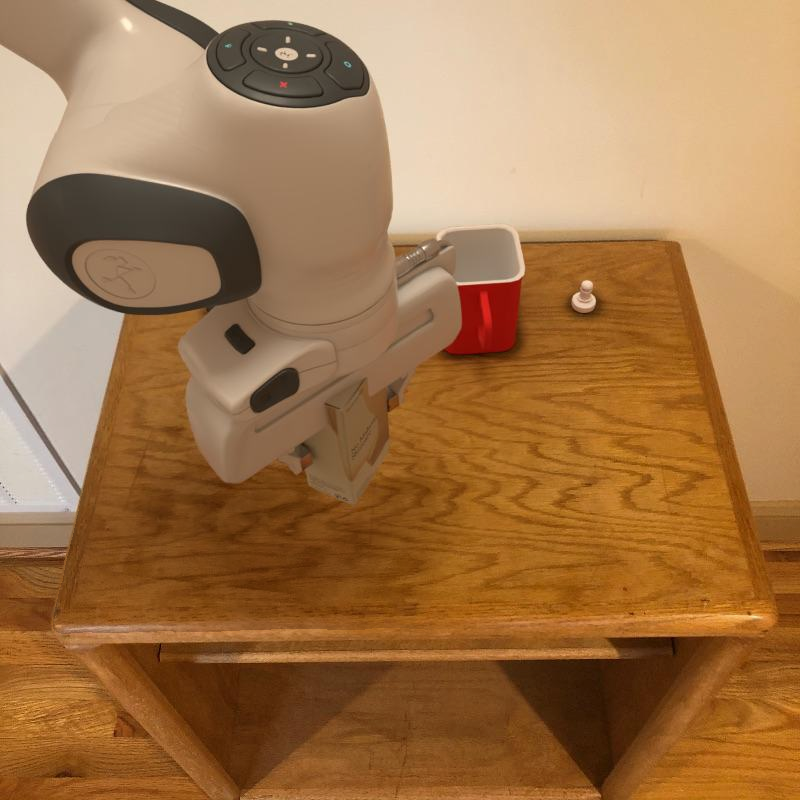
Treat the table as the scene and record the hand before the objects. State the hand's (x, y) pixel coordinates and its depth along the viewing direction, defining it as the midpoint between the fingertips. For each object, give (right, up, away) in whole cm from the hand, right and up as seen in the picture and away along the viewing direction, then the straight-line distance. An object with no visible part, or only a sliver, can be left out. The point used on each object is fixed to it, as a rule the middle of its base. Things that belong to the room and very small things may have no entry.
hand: (344, 432), depth 58 cm
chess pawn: (+24, +13, +28) cm, 39 cm away
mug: (+12, +9, +26) cm, 30 cm away
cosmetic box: (0, -3, +4) cm, 5 cm away
